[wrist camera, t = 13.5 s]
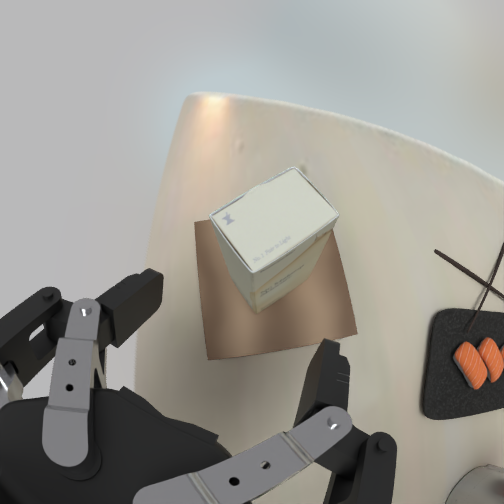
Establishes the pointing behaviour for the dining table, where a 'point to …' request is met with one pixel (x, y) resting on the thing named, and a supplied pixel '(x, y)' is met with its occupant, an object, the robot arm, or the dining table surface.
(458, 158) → the dining table surface
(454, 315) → the sushi plate
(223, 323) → the block
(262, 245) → the skincare box
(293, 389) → the dining table surface
